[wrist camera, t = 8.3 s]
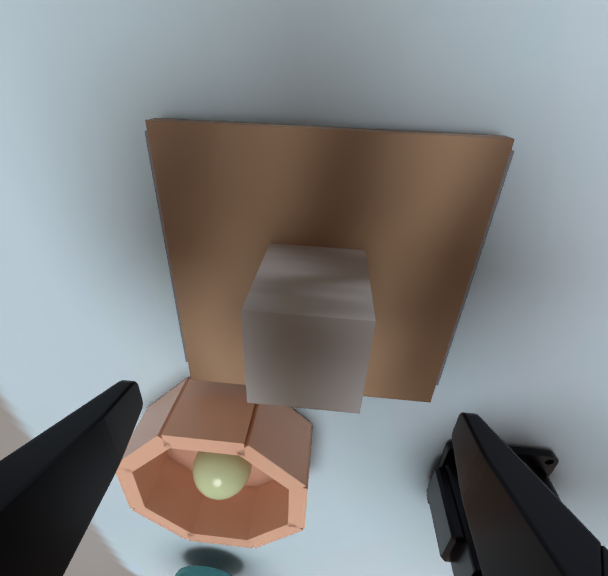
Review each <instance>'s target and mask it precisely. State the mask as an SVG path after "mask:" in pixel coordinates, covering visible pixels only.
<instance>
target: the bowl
mask: <svg viewBox="0 0 608 576" xmlns="http://www.w3.org/2000/svg"><path fill="white" fill-rule="evenodd" d="M312 428H313V426H311V423H310V422H309V421H308V420H307V419H305V418H304V417H303V416H302V415H300V414H299V413H298V412H297V411H295V410H294V409H293V408H292V407H287V406H277V405H267V404H256V403H247V393H246V385H241V384H231V383H220V382H210V381H199V380H191V377H190V379H188V378H186V379H185V380H184V381H182V382H181V383H180V384H178V385H177V386H176V387H174V388H173V389H172V390H170V391H169V392H168V393H166V394H165V395H164V396H162V397H161V398H160V399H158V400H157V401H156V402H154V403H153V404H152V405H150V406H149V407H148V408H147V410H146V412H145V413H144V415H143V417H142V419H141V420H140V422H139V424H138V425H137V427H136V429H135V431H134V432H133V434H132V436H131V438H130V441H129V443H128V446H127V448H126V451H125V453H124V456H123V458H122V461H121V463H120V465H119V467H118V469H117V471H116V475H117V477H118V479H119V482H120V484H121V487H122V489H123V492H124V494H125V497H126V499H127V502H128V504H129V507H130V508H133V511H135V512H137V513H138V514H140V515H142V516H144V517H146V518H148V519H149V520H151V521H153V522H155V523H157V524H158V525H160V526H162V527H164V528H166V529H168V530H169V531H171V532H173V533H175V534H177V535H179V536H180V537H182V538H184V539H188V538H189V541H197V542H205V543H214V544H222V545H230V546H238V547H246V548H252V547H255V548H257V547H260V546H262V545H265V544H268V543H270V542H273V541H276V540H278V539H281V538H284V537H286V536H289V535H292V534H294V533H297V532H300V531H302V530H303V528H305V517H306V504H307V492H308V479H309V467H310V454H311V441H312Z"/></svg>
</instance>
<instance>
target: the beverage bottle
mask: <svg viewBox="0 0 608 576" xmlns="http://www.w3.org/2000/svg"><path fill="white" fill-rule="evenodd" d="M175 576H232V575H230V574H229V573H227V572H225V571H222V570H219V569H216V568H212V567H207V566H187V567H184V568H181V569H180V570H179V571H178V572H177V573H176V575H175Z"/></svg>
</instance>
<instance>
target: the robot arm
mask: <svg viewBox="0 0 608 576" xmlns="http://www.w3.org/2000/svg"><path fill="white" fill-rule="evenodd" d="M142 406H143V401H142V397H141V393H140V390H139V386H138V384H137V383H136V382H135V381H127V380H122V381H119V382H118V383H116V384H115V385H113V386H112V387H110V388H109V389H107V390H106V391H104V392H103V393H101V394H100V395H98V396H97V397H95V398H94V399H92V400H91V401H89V402H88V403H86V404H85V405H83V406H82V407H80V408H79V409H77V410H76V411H74V412H73V413H71V414H70V415H68V416H67V417H65V418H64V419H62V420H61V421H59V422H58V423H56V424H55V425H53V426H52V427H50V428H49V429H47V430H46V431H44V432H43V433H41V434H40V435H38V436H37V437H35V438H34V439H32V440H31V441H29V442H28V443H26V444H25V445H23V446H22V447H20V448H19V449H17V450H16V451H14V452H13V453H11V454H10V455H8V456H7V457H5V458H4V459H2V460H1V461H0V576H63V574H64V573H65V571H66V569H67V567H68V565H69V563H70V561H71V559H72V557H73V555H74V553H75V551H76V549H77V547H78V545H79V543H80V541H81V539H82V537H83V535H84V534H85V532H86V530H87V528H88V526H89V524H90V522H91V520H92V518H93V516H94V514H95V512H96V510H97V508H98V506H99V504H100V502H101V500H102V498H103V496H104V494H105V493H106V491H107V489H108V487H109V485H110V483H111V481H112V479H113V477H114V475H115V473H116V471H117V469H118V467H119V465H120V463H121V461H122V458H123V456H124V453H125V451H126V448H127V446H128V443H129V441H130V438H131V436H132V433H133V430H134V428H135V425H136V423H137V420H138V418H139V415H140V413H141V410H142ZM557 464H558V459H557V457H556V455H555V453H554V452H552V451H545V450H535V449H525V448H515V447H508V445H507V444H506V443H505V442H504V441H503V440H502V439H501V438H500V437H499V436H498V435H497V434H496V433H495V432H494V431H493V430H492V429H491V428H490V427H489V426H488V425H487V424H486V423H485V422H484V421H483V419H482V418H481V417H480V416H478V415H477V414H474V413H464V412H463V413H461V414H460V415H459V417H458V419H457V422H456V424H455V427H454V429H453V432H452V442H450V443H448V444H447V445H446V447H445V450H444V452H443V455H442V458H441V460H440V463H439V465H438V467H437V468H436V469H435V470H434V473H433V475H432V478H431V480H430V483H429V486H428V488H427V500H428V503H429V504H430V509H431V514H432V518H433V523H434V528H435V533H436V537H437V542H438V547H439V552H440V556H441V557H442V559H443V560H444V561H446V562H451V566H452V570H453V574H454V576H608V549H607V548H606V547H605V546H601V543H600V541H599V540H598V539H597V538H596V537H595V536H594V535H593V534H592V533H591V532H590V531H589V530H588V529H587V528H586V527H585V526H584V525H583V524H582V523H581V522H580V520H579V519H578V518H577V517H576V516H575V515H574V514H573V513H572V512H571V511H570V510H569V509H568V508H567V507H566V506H565V505H564V504H563V503H562V502H561V500H560V498H559V496H558V494H557V492H556V490H555V488H554V486H553V484H552V482H551V481H550V479H549V476H550V474H551V473H552V471H553V470H554V468H555V467H556V465H557Z"/></svg>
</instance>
